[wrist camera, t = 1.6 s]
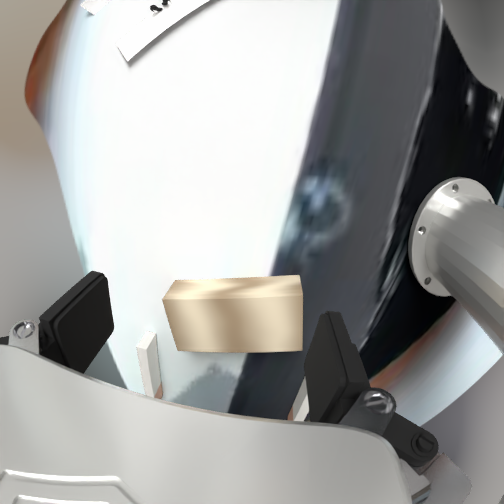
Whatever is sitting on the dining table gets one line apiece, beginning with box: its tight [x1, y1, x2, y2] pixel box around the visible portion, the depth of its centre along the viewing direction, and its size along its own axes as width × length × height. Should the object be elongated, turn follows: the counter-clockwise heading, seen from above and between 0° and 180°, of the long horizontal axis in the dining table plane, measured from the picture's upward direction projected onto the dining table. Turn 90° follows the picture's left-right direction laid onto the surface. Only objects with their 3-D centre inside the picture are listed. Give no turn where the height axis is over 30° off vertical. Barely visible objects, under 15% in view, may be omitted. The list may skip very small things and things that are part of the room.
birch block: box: [162, 275, 303, 353], centre depth 25 cm, size 12×6×4 cm, turn 95°
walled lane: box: [137, 331, 309, 421], centre depth 30 cm, size 20×12×3 cm, turn 82°
